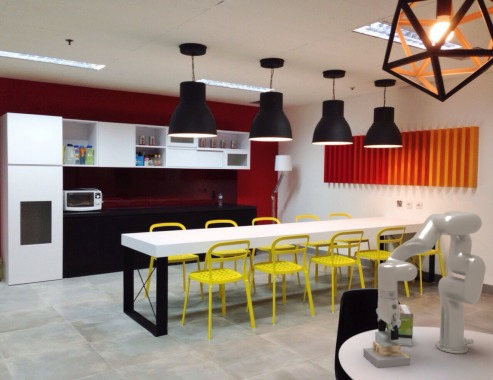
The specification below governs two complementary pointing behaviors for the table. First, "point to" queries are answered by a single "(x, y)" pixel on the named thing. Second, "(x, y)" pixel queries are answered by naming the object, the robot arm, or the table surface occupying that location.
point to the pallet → (386, 350)
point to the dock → (386, 359)
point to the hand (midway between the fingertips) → (388, 335)
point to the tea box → (404, 326)
